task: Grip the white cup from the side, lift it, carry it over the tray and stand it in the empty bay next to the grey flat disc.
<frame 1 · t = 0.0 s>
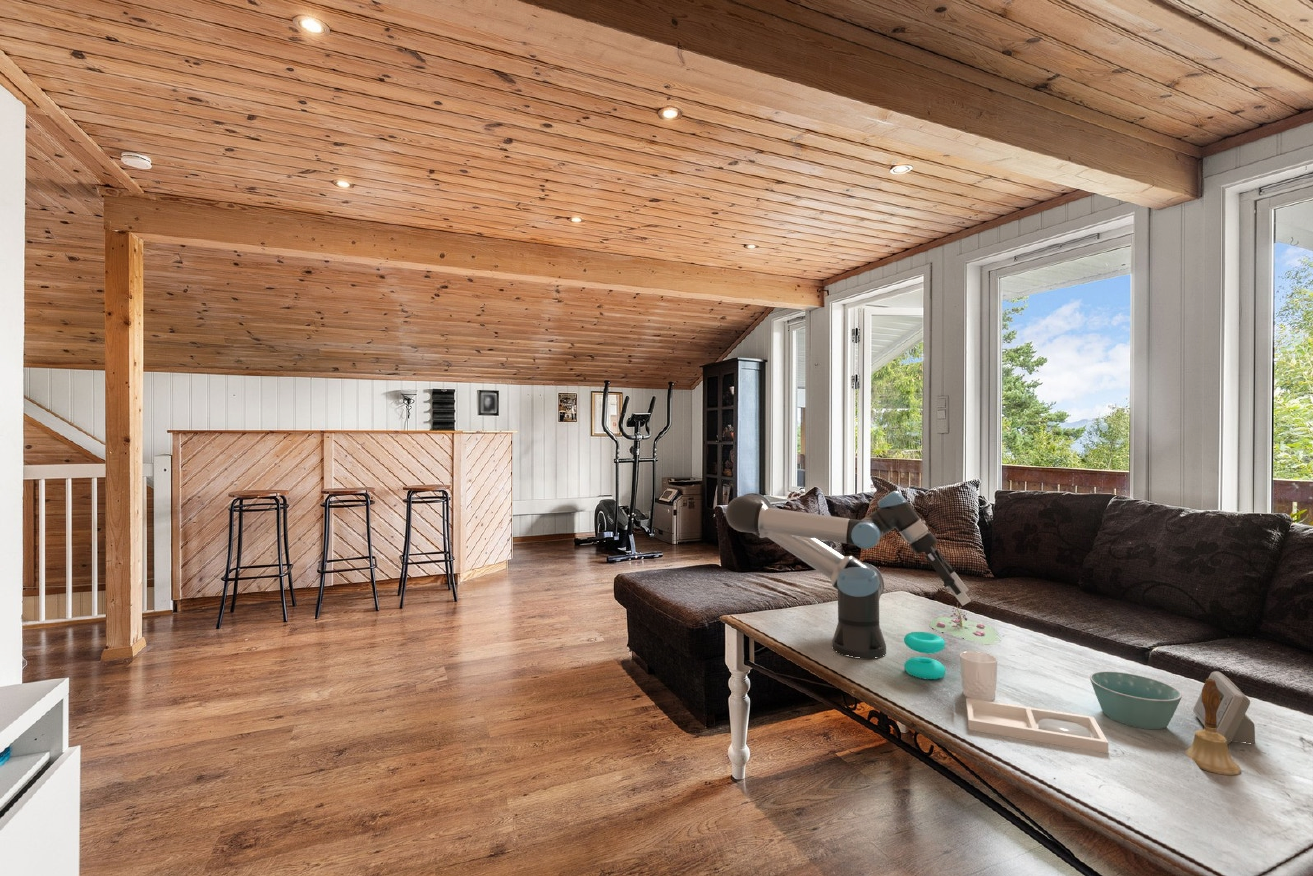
hand: (965, 597, 179), 15 cm above the table, tool tilted 35°, fingers open, 13 cm apart
donuts: (924, 674, 160), on the table
tray: (1031, 732, 127), on the table
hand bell: (1210, 764, 114), on the table
bowl: (1134, 723, 131), on the table
plant: (968, 634, 195), on the table
grey flat disc: (1064, 733, 125), point 1 cm above the table, touching tray
white cup: (978, 700, 144), on the table
digital clock: (1220, 732, 127), on the table
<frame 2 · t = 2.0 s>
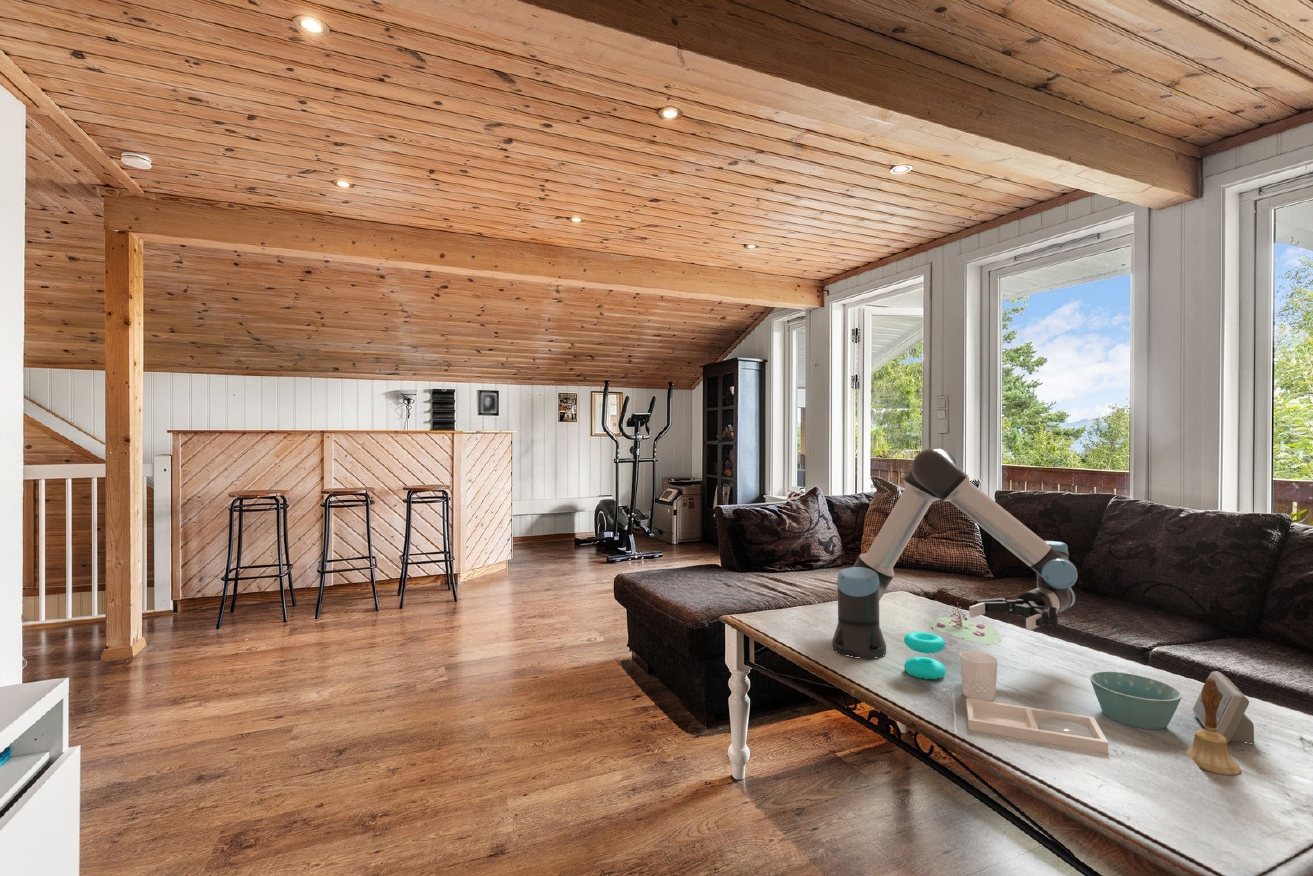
hand: (998, 618, 150), 18 cm above the table, tool horizontal, fingers open, 13 cm apart
nothing on the table moved.
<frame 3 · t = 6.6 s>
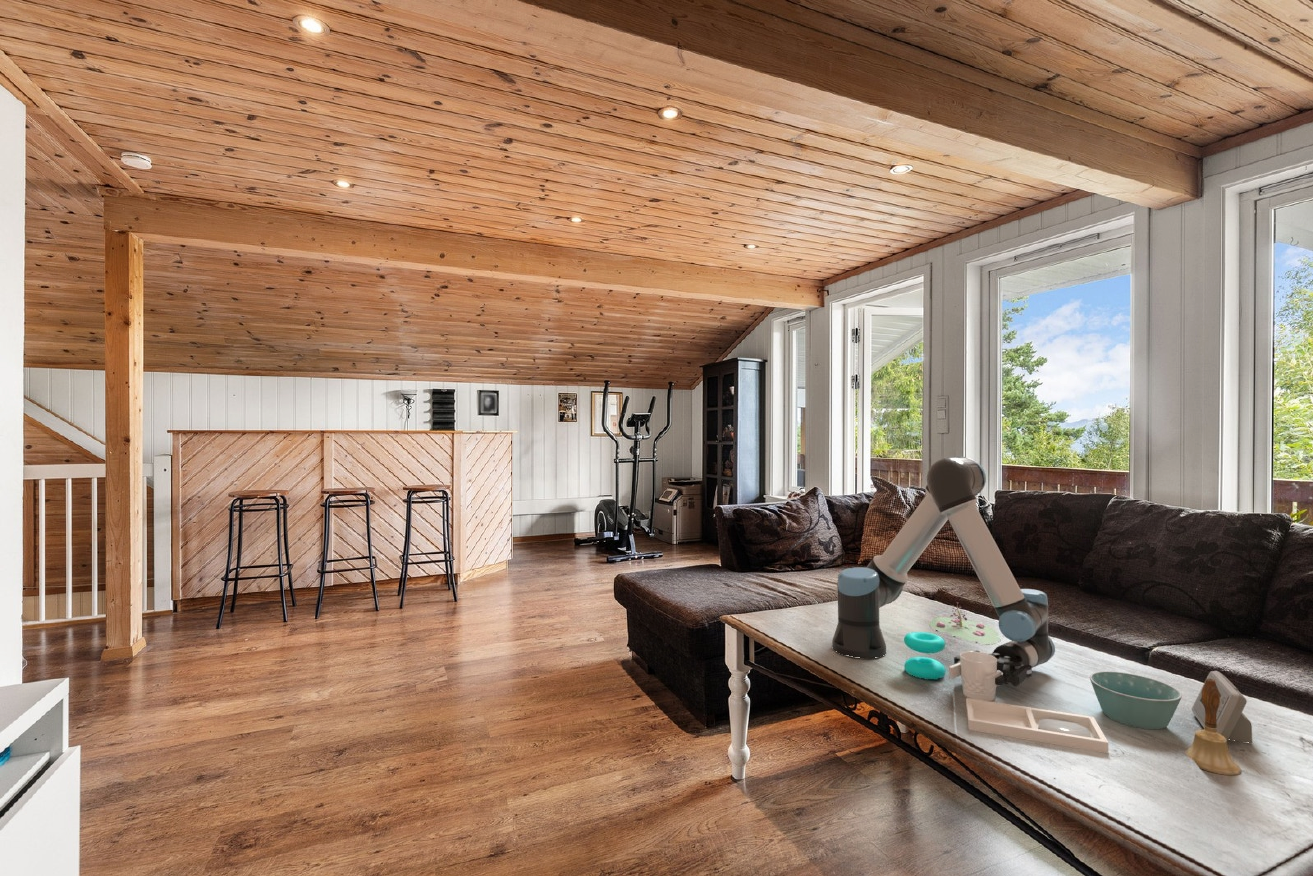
hand: (968, 678, 141), 6 cm above the table, tool horizontal, fingers closed on white cup, 8 cm apart
white cup: (978, 699, 144), on the table, touching gripper
everything else where it was.
when the fingers open (8 cm above the table, at t = 11.9 s): white cup drops 1 cm, resting on tray.
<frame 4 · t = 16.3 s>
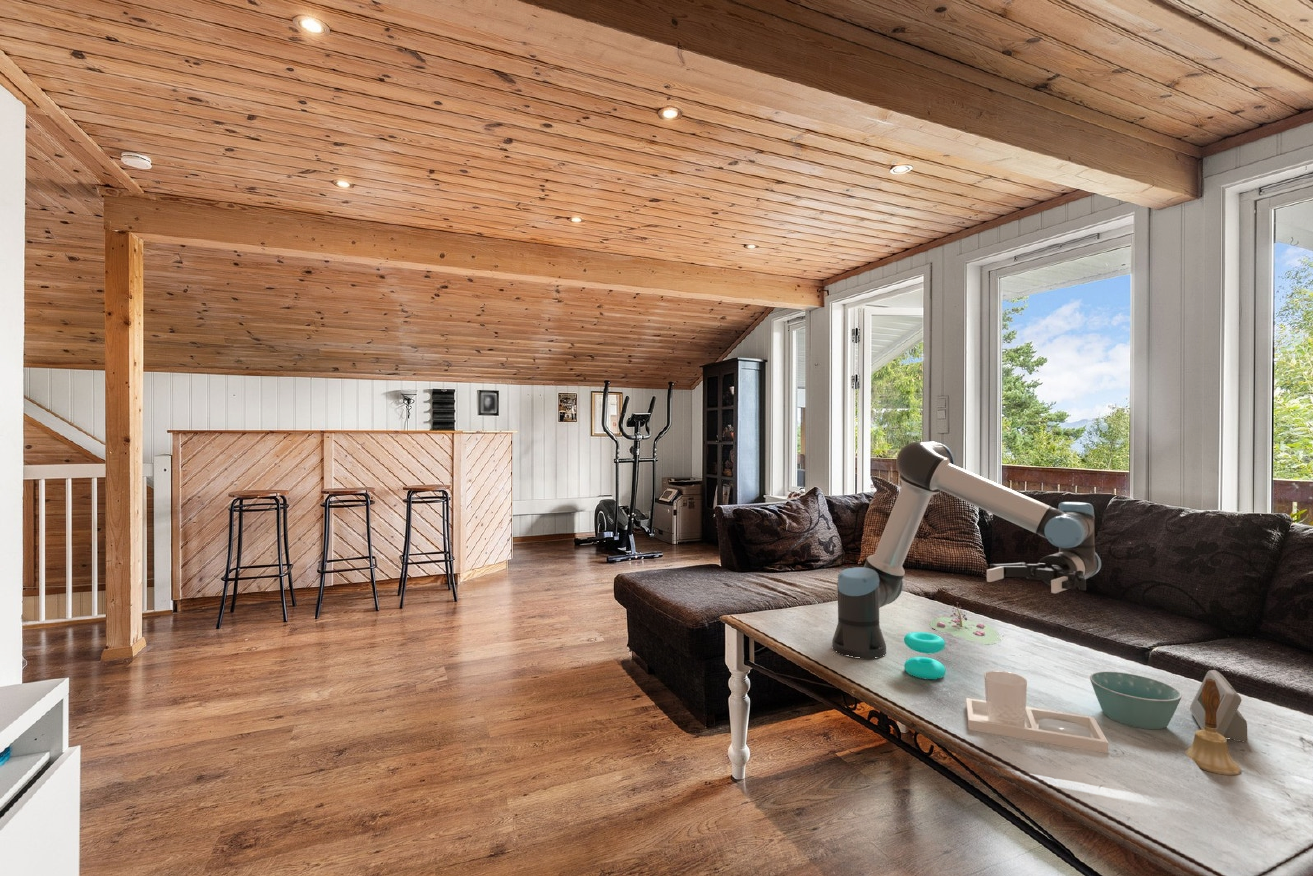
hand: (1019, 581, 135), 30 cm above the table, tool horizontal, fingers open, 13 cm apart
white cup: (1006, 725, 129), point 1 cm above the table, touching tray
at the end: white cup inside the target area on the tray (1.2 cm from its centre), point 0.8 cm above the tray's base; white cup tilted 0°; the gripper is holding nothing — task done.
